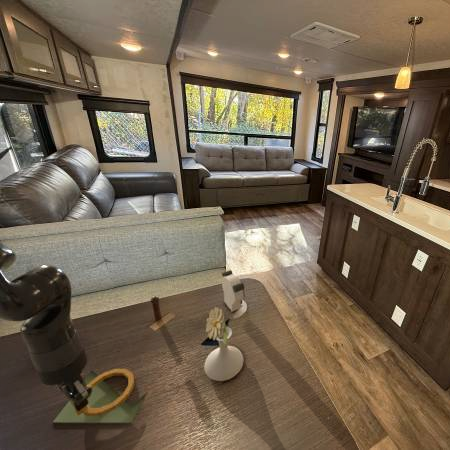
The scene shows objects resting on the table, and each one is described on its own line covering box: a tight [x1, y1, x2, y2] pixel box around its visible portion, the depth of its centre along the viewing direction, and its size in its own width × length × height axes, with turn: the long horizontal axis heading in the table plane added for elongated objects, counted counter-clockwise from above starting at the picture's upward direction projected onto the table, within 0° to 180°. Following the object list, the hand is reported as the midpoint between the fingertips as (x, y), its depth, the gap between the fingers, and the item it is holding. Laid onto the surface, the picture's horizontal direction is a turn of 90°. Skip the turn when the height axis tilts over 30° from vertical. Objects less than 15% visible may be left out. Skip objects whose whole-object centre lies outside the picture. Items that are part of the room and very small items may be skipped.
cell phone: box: [200, 317, 231, 347], centre depth 88 cm, size 7×14×1 cm, turn 3°
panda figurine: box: [221, 269, 248, 320], centre depth 95 cm, size 12×11×15 cm
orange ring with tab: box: [69, 368, 135, 416], centre depth 63 cm, size 11×12×8 cm
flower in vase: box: [204, 307, 244, 382], centre depth 70 cm, size 13×11×25 cm
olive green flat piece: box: [52, 370, 149, 424], centre depth 65 cm, size 18×13×1 cm
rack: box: [147, 295, 176, 332], centre depth 87 cm, size 8×8×11 cm
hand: (81, 405), depth 59 cm, fingers closed on orange ring with tab, 1 cm apart
